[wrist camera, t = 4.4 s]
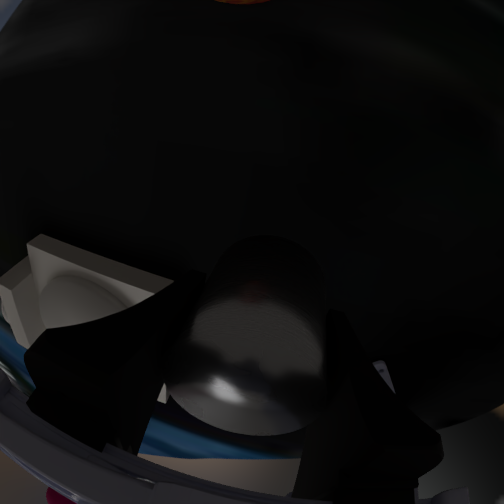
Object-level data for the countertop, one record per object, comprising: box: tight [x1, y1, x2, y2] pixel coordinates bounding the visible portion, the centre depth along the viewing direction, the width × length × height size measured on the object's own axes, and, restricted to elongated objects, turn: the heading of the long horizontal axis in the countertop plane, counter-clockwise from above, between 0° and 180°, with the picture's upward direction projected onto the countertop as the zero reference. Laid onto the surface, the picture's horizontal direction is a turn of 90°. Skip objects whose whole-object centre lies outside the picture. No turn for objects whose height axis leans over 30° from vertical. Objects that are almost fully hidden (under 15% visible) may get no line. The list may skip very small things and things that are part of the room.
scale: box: [0, 234, 174, 404], centre depth 23 cm, size 17×14×5 cm
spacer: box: [163, 235, 327, 436], centre depth 11 cm, size 5×5×6 cm
